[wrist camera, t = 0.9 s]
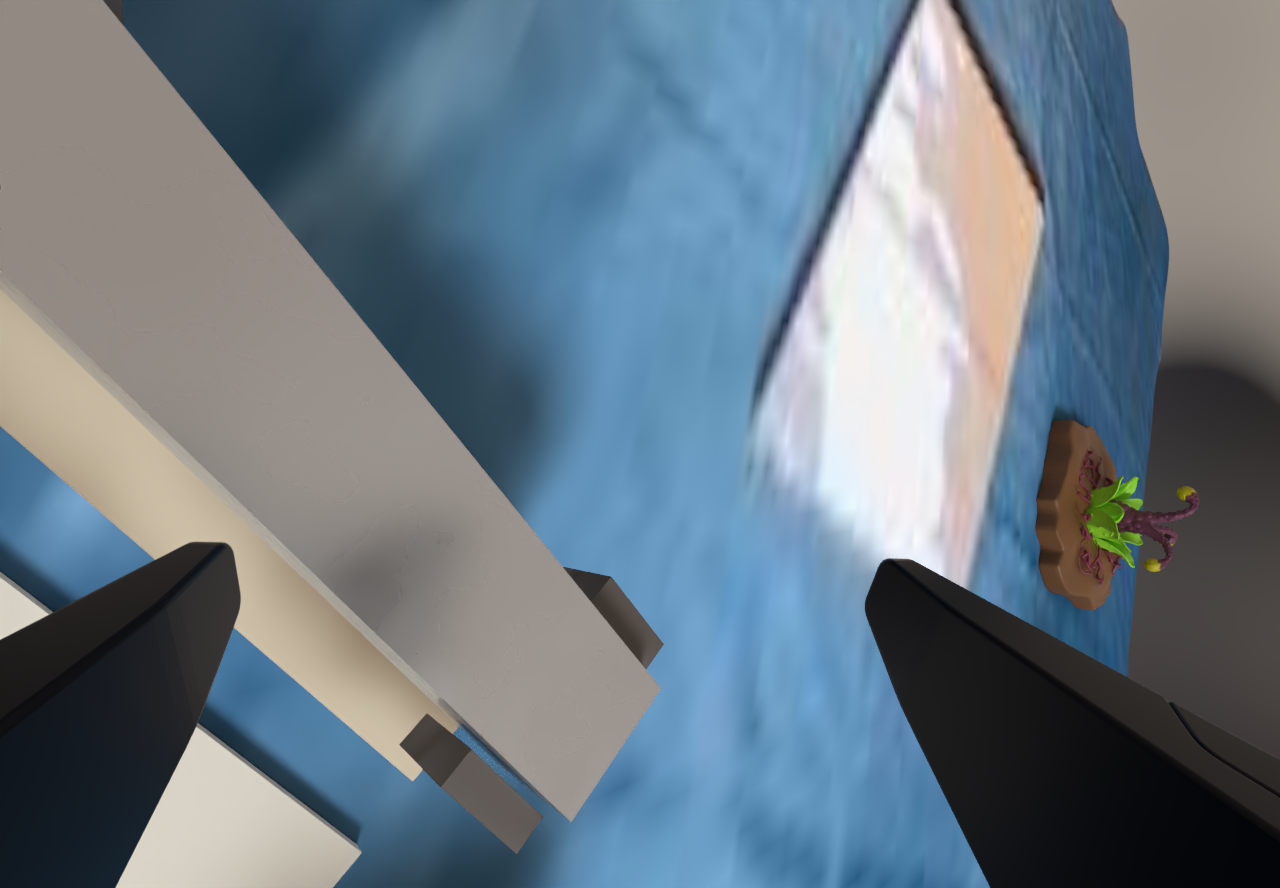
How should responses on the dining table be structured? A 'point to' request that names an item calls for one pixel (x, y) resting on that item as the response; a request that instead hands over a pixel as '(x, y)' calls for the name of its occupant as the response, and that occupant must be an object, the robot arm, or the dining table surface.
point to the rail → (289, 399)
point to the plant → (1092, 517)
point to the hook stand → (258, 569)
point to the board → (218, 813)
